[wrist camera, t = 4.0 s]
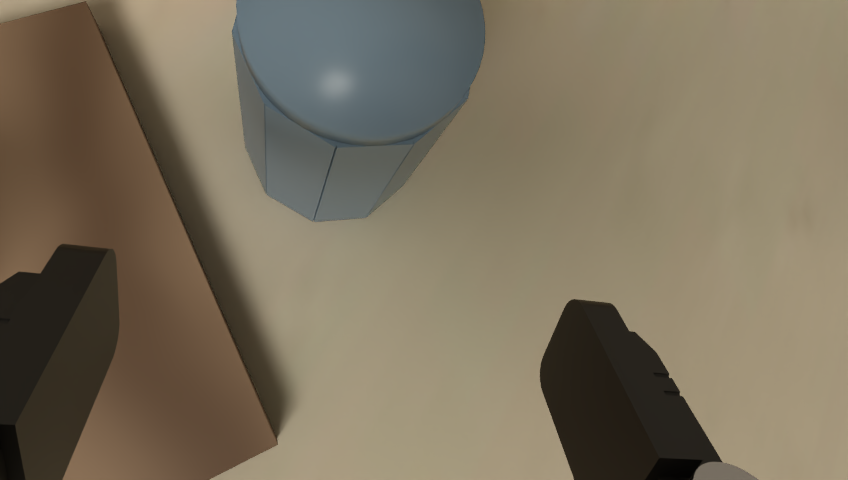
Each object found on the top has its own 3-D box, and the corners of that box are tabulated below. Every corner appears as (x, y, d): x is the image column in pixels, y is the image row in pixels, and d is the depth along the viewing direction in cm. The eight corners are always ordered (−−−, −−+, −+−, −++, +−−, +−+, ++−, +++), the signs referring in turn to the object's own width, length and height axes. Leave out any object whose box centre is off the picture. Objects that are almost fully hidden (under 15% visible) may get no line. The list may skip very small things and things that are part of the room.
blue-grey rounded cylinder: (368, 46, 25) (421, -124, 16) (435, 188, 24) (526, 93, 16) (221, 93, 23) (192, -69, 14) (290, 248, 22) (303, 177, 14)
